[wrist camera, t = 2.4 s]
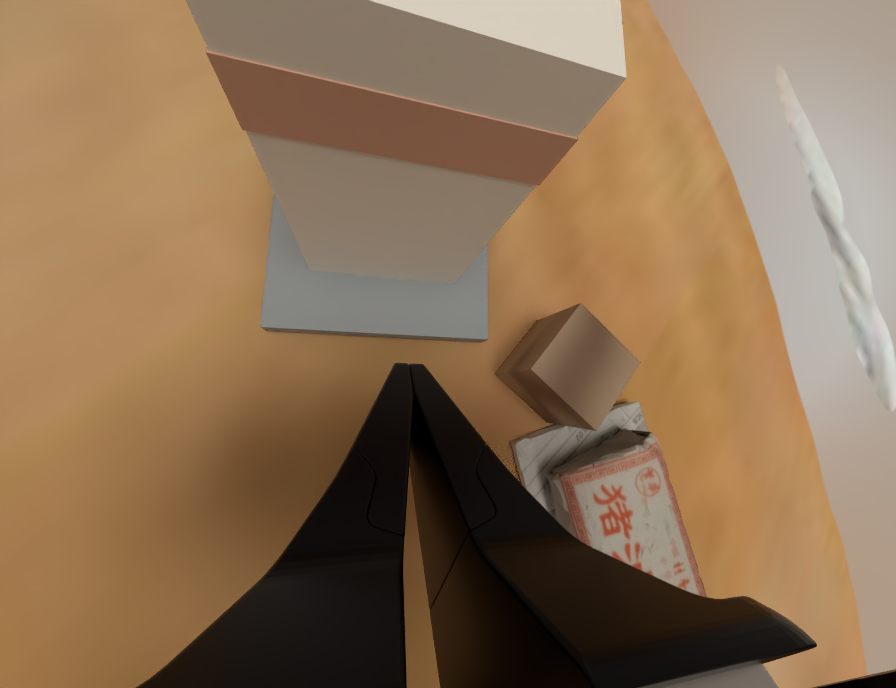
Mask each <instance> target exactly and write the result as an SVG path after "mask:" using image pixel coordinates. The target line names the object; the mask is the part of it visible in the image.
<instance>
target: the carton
mask: <svg viewBox="0 0 896 688" xmlns="http://www.w3.org/2000/svg"><path fill="white" fill-rule="evenodd" d="M186 1H187V4H188V6H189V8H190V10H191V12H192V15H193V17H194V19H195V21H196V23H197V25H198V28H199V30H200V32H201V34H202V36H203V39H204V41H205V43H206V45H207V48H206V53H207V56H208V58H209V60H210V62H211V64H212V66H213V68H214V71H215V73H216V75H217V77H218V79H219V81H220V83H221V85H222V88H223V90H224V92H225V94H226V96H227V98H228V100H229V102H230V105H231V107H232V109H233V111H234V113H235V115H236V117H237V120H238V122H239V124H240V126H241V128H242V130H246V132H247V135H248V137H249V139H250V141H251V143H252V146H253V148H254V150H255V152H256V154H257V157H258V159H259V161H260V163H261V165H262V167H263V170H264V172H265V174H266V176H267V178H268V181H269V183H270V185H271V187H272V189H273V191H274V194H275V196H276V198H277V200H278V202H279V205H280V207H281V209H282V211H283V213H284V215H285V218H286V220H287V222H288V224H289V226H290V229H291V231H292V233H293V235H294V237H295V240H296V242H297V244H298V246H299V248H300V250H301V253H302V255H303V257H304V259H305V261H306V264H307V266H308V268H309V270H311V271H322V272H332V273H342V274H353V275H363V276H373V277H384V278H394V279H404V280H414V281H425V282H435V283H445V284H454V283H455V282H456V281H457V280H458V279H459V277H460V276H461V275H462V274H463V273H464V271H465V270H466V269H467V268H468V267H469V265H470V264H471V263H472V262H473V261H474V259H475V258H476V257H477V256H478V255H479V253H480V252H481V251H482V250H483V249H484V247H485V246H486V245H487V244H488V243H489V242H490V240H491V239H492V238H493V237H494V236H495V234H496V233H497V232H498V231H499V230H500V228H501V227H502V226H503V225H504V224H505V222H506V221H507V220H508V219H509V218H510V216H511V215H512V214H513V213H514V212H515V210H516V209H517V208H518V207H519V206H520V204H521V203H522V202H523V201H524V200H525V198H526V197H527V196H528V195H529V194H530V192H531V191H532V190H533V189H534V188H535V186H536V185H540V184H541V183H542V182H543V180H544V179H545V178H546V177H547V176H548V174H549V173H550V172H551V171H552V170H553V169H554V167H555V166H556V165H557V164H558V163H559V162H560V160H561V159H562V158H563V157H564V156H565V154H566V153H567V152H568V151H569V150H570V149H571V147H572V146H573V145H574V144H575V143H576V142H577V140H578V135H579V134H580V133H581V131H582V130H583V129H584V128H585V127H586V125H587V124H588V123H589V122H590V121H591V119H592V118H593V117H594V116H595V115H596V113H597V112H598V111H599V110H600V109H601V108H602V106H603V105H604V104H605V103H606V102H607V100H608V99H609V98H610V97H611V96H612V94H613V93H614V92H615V91H616V90H617V88H618V87H619V86H620V85H621V84H622V82H623V81H624V80H625V79H626V67H625V54H624V42H623V29H622V17H621V4H620V0H186Z"/></svg>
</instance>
